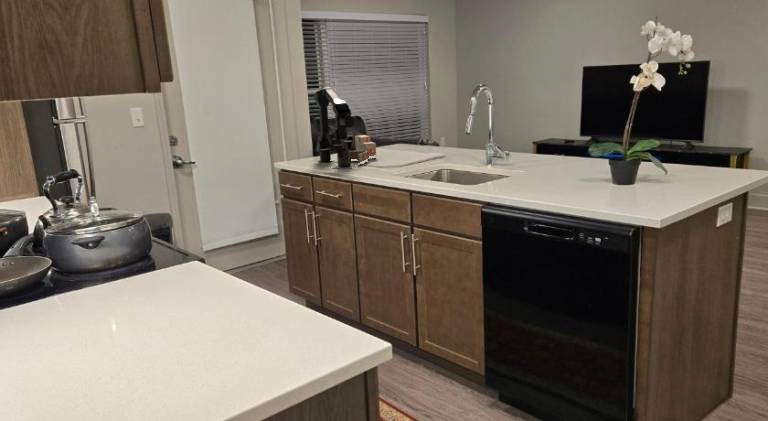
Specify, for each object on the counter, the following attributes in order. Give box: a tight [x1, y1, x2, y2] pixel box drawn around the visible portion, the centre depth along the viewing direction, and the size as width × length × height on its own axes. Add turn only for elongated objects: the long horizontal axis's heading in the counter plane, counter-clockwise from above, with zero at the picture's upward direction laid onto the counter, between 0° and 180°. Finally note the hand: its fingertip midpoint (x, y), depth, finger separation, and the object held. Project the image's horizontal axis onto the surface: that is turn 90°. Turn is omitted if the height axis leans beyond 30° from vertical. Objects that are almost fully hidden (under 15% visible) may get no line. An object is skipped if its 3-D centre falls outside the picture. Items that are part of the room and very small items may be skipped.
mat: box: [332, 164, 356, 170], centre depth 306 cm, size 10×10×1 cm
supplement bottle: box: [336, 144, 352, 168], centre depth 305 cm, size 7×7×12 cm
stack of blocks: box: [354, 134, 377, 156], centre depth 338 cm, size 21×6×12 cm, turn 19°
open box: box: [336, 150, 369, 164], centre depth 316 cm, size 14×13×6 cm
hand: (343, 156), depth 305 cm, fingers open, 9 cm apart
